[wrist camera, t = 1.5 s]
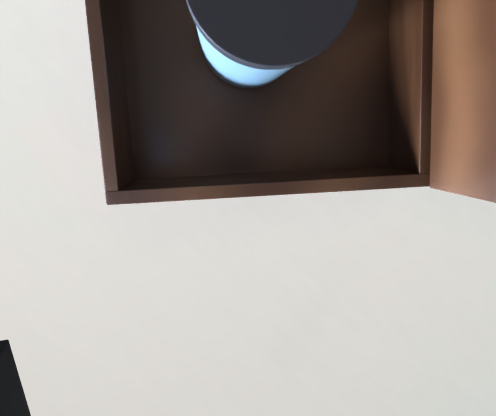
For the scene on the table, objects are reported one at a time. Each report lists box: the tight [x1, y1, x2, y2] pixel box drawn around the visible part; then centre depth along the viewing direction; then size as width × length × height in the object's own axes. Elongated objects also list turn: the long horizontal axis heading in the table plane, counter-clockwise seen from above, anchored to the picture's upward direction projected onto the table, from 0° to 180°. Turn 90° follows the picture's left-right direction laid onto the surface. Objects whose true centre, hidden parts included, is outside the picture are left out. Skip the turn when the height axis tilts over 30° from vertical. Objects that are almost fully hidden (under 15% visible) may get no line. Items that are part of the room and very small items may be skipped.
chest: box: [85, 0, 434, 205], centre depth 30 cm, size 20×17×6 cm
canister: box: [186, 0, 359, 88], centre depth 25 cm, size 7×7×15 cm
